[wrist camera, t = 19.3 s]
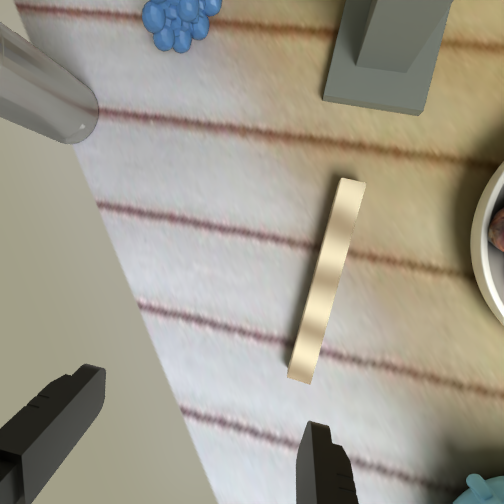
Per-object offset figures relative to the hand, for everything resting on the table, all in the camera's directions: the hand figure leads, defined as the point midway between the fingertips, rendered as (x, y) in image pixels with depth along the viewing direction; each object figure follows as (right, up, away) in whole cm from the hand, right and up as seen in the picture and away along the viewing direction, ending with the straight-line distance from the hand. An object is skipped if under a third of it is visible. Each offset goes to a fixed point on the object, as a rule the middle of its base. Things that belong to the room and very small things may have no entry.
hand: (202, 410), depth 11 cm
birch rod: (+11, +2, +28) cm, 31 cm away
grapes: (-6, +37, +30) cm, 47 cm away
